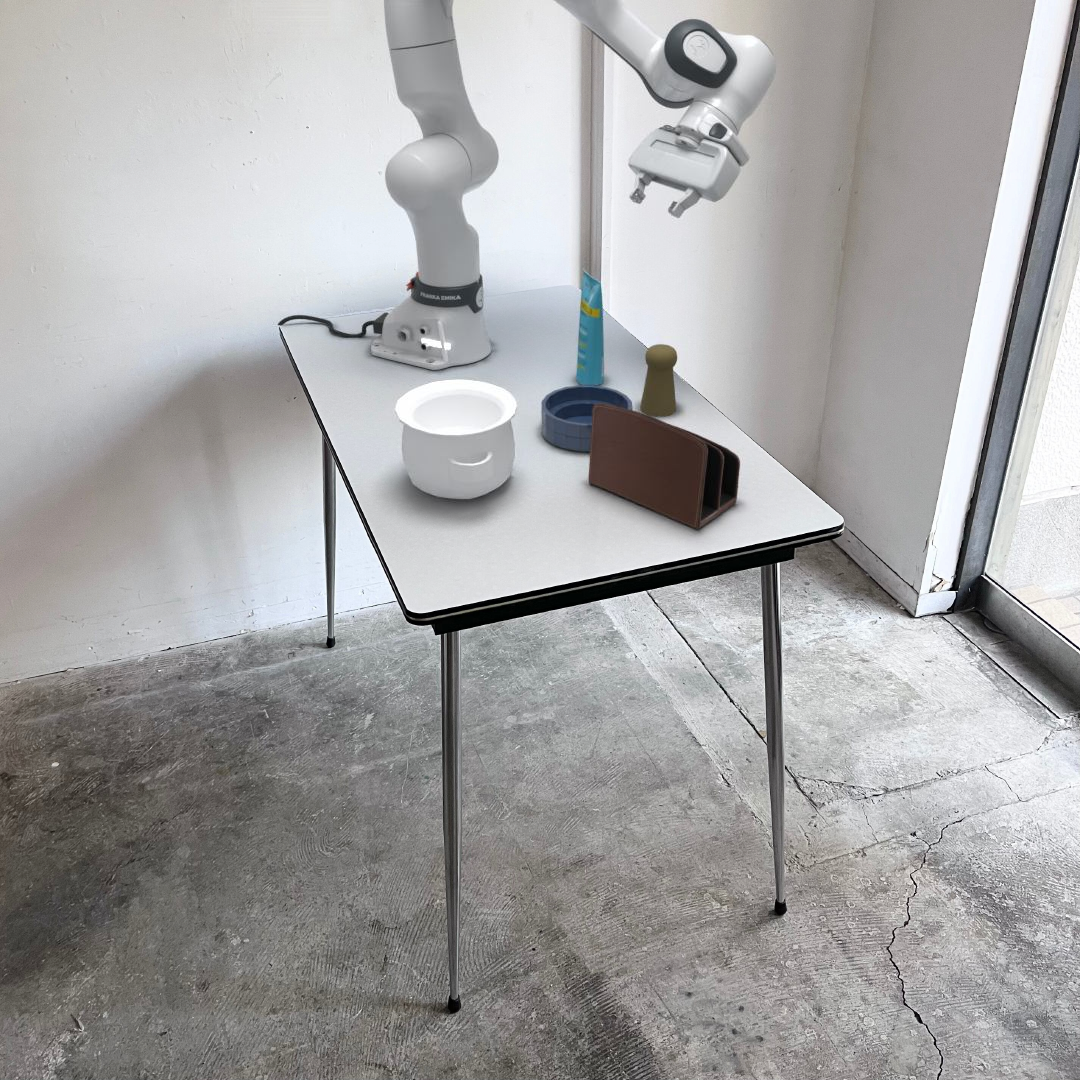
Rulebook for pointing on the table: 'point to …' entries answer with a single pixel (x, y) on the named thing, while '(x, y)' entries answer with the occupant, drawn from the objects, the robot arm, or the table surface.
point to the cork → (659, 381)
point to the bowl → (576, 414)
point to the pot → (457, 437)
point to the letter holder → (661, 466)
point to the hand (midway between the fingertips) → (653, 207)
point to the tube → (590, 333)
